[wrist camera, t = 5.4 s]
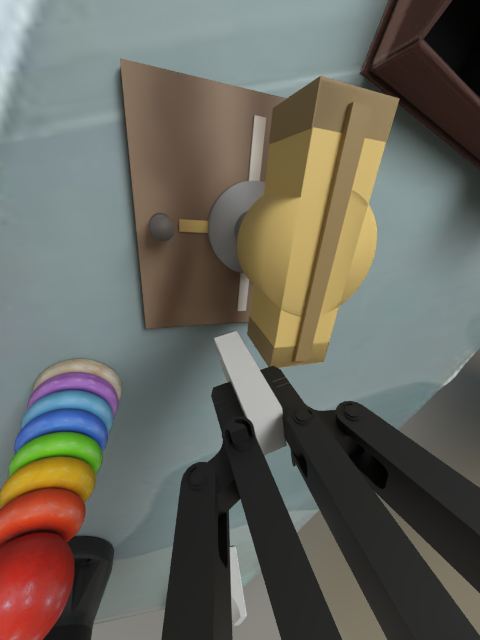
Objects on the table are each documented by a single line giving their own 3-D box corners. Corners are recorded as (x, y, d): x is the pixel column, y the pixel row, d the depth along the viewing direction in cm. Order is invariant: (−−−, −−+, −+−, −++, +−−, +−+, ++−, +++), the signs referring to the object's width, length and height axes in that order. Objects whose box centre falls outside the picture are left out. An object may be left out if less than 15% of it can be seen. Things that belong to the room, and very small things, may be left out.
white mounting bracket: (193, 548, 52) (196, 624, 43) (235, 546, 55) (246, 615, 46) (168, 592, 58) (166, 667, 48) (207, 588, 61) (212, 657, 52)
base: (146, 324, 26) (144, 373, 19) (121, 64, 17) (100, -22, 10) (311, 313, 32) (355, 348, 25) (356, 119, 23) (445, 90, 16)
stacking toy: (29, 407, 26) (-162, 747, 10) (48, 346, 24) (-157, 658, 8) (110, 417, 30) (62, 677, 14) (132, 364, 27) (107, 604, 12)
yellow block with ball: (307, 329, 21) (343, 361, 17) (229, 336, 19) (250, 374, 15) (355, 126, 15) (429, 103, 11) (247, 102, 13) (291, 62, 9)
